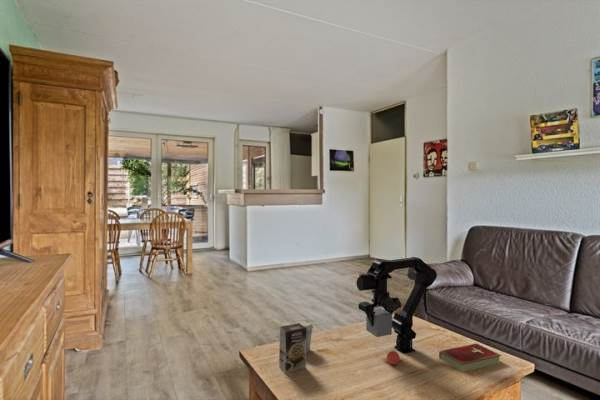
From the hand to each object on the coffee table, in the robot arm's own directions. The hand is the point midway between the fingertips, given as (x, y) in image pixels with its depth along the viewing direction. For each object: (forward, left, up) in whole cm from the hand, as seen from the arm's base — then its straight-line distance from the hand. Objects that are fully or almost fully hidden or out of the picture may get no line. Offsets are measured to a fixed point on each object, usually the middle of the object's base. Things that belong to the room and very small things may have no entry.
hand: (379, 324), depth 144 cm
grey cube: (0, 0, -3) cm, 3 cm away
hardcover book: (-31, +20, -13) cm, 39 cm away
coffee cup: (+29, -16, -13) cm, 35 cm away
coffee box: (+39, -4, -13) cm, 41 cm away
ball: (0, +9, -10) cm, 14 cm away
